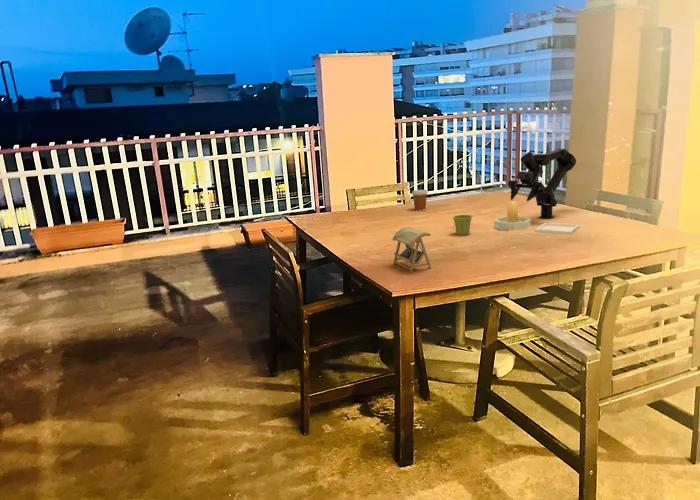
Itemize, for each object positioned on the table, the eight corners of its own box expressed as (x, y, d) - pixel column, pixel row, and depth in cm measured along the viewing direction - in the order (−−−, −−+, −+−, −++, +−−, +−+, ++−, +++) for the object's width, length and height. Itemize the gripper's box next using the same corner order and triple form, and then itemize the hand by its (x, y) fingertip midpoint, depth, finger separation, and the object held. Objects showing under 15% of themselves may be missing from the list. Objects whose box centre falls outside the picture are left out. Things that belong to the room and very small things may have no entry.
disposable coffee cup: (429, 211, 326) (428, 191, 323) (413, 212, 326) (412, 192, 323) (427, 208, 335) (426, 189, 332) (411, 209, 335) (411, 190, 332)
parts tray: (545, 226, 266) (545, 222, 265) (579, 228, 256) (579, 224, 256) (534, 233, 253) (534, 229, 253) (570, 236, 244) (570, 231, 243)
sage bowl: (502, 223, 279) (502, 215, 278) (533, 225, 270) (533, 217, 269) (490, 229, 267) (490, 221, 266) (522, 232, 258) (522, 223, 257)
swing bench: (392, 264, 219) (390, 228, 215) (412, 260, 223) (411, 225, 219) (410, 272, 206) (409, 235, 202) (432, 268, 210) (431, 231, 206)
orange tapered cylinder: (514, 224, 271) (514, 200, 268) (519, 225, 266) (519, 201, 263) (505, 225, 270) (505, 201, 267) (510, 226, 265) (510, 202, 262)
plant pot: (450, 235, 260) (449, 218, 258) (456, 231, 268) (455, 214, 266) (469, 236, 256) (469, 218, 254) (474, 232, 264) (474, 214, 262)
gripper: (509, 164, 275) (496, 189, 271) (542, 165, 260) (529, 191, 257) (518, 177, 281) (505, 202, 277) (551, 179, 267) (538, 205, 263)
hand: (519, 200), depth 269 cm, fingers open, 9 cm apart
